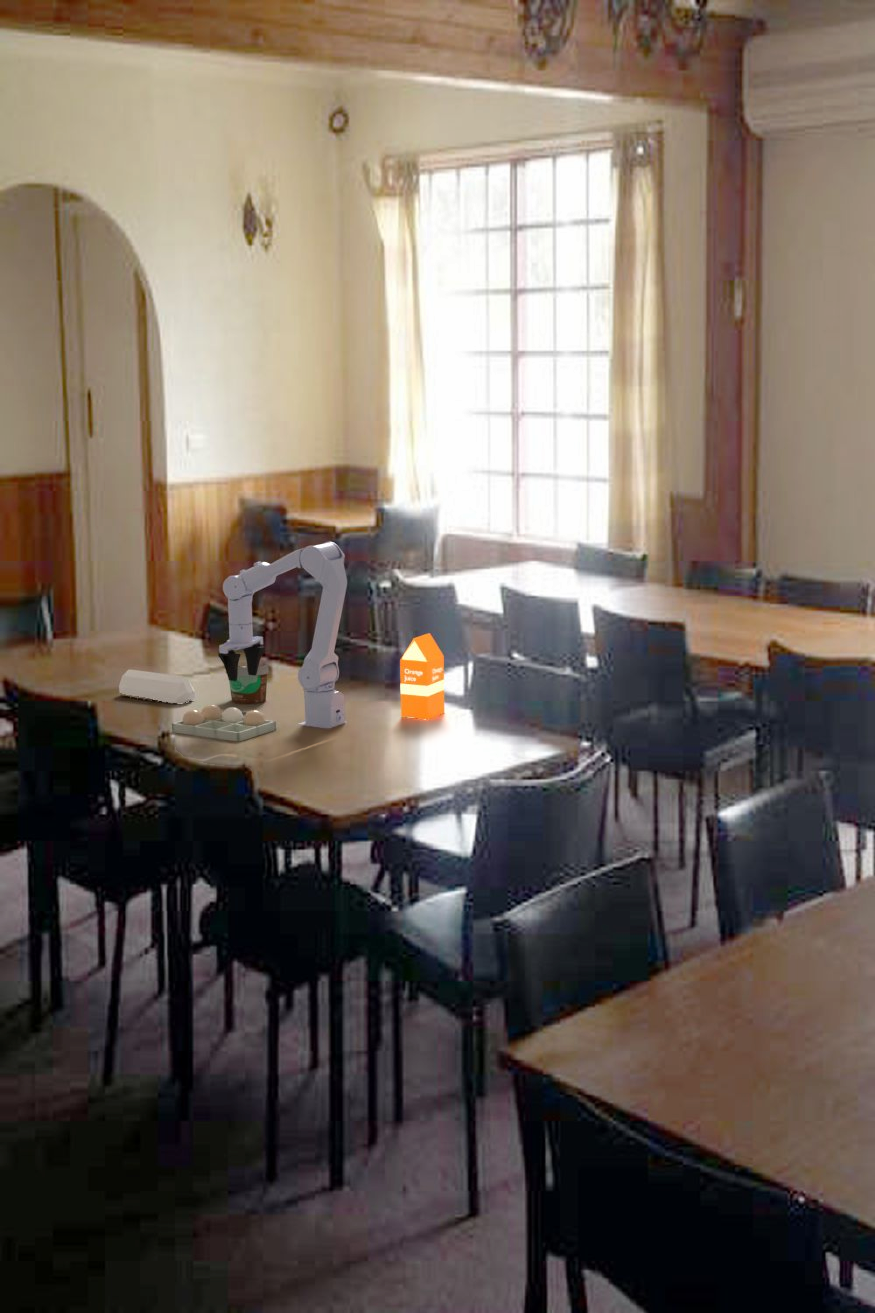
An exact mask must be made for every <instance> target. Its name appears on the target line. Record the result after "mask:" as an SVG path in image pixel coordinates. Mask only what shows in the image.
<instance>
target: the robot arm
mask: <svg viewBox="0 0 875 1313" xmlns="http://www.w3.org/2000/svg"><path fill="white" fill-rule="evenodd" d="M345 557H346V555H345V553H344V552H343V550H342V549H341V548H340V546H339V545H338V544H336V543H335V542H332V541H326V542H324V543H321V544H316V545H315V544H314V545H308V546H305V547H302V548H299V549H296V550H294V551H292V552H290V553H288V554H285V556H282V557H281V558H279V559H278V560H275V561H273V562H272V563H268V562H266V561H257V562H254V563H253V566H252V567H250V568H248V569H241V570H240V571H239V574H236V575H229V576H228V577H226V578H225V580H224V581H223V584H222V592H223V593H224V595H225V597H226V598H227V609H228V628H229V629H228V630H229V632H228V634H229V639H227V640H226V642H225V643H223V644H219V645H218V647H219V648H218V650H219V652H218V654H217V655H218V658H219V659H220V660H221V662H222V664H223V666H224V668H225V673H226V672H227V673H226V675H227V679H228V681H229V680H230V681H237V676H238V666H239V661H240V658H241V655H242V654H240V653H236V652H235V651H238V650H242V649H243V653H244V656H245V660H246V666H247V670H248V674H249V675H254V676H255V675H257V670H258V667H260V661H261V658H262V656H263V654H264V653H265V648H266V647H265V646H264V637H263V636H253V635H254V632H253V629H254V628H253V606H252V602H253V595H255V593H256V592H258V591H260V590H262V589H264V588H266V587H268V586H271V585H273V584H274V583H275V582H276V580H277V579H276V578H277V576H279V575H281V574H284V573H287V572H289V571H290V570H292V569H295V568H298V569H304V571H306V572H307V573H308V574H309V575H311V576H312V577H313V578H314V579H315V580H316V581H318V582H319V583H320V585H321V586H322V591H321V597H320V603H319V607H318V612H317V618H316V622H315V623H316V624H315V629H314V634H313V638H312V645H311V649H310V651H309V652H308V653H307V655H306V656H305V657H304V660H303V664H302V666H301V667H300V668H299V670H298V673H297V679H298V682H299V683H298V684H300V686H301V688H303V692H304V694H303V695H304V721H302V722H300V723H299V722H298V725H301V726H307V727H314V728H315V727H316V728H321V729H331V728H334V727H337V726H338V727H339V726H340V725H343V724H347V723H348V721H346V699H345V695H344V693H342V692H341V691H339V690H336V689H335V686H336V685H335V683H336V681H338V679H339V676H340V668H339V663H338V662H339V656H338V655H337V654H336V653H335V648H336V643H337V638H338V634H339V627H340V623H341V618H342V612H343V606H344V604H345V603H344V602H345V598H346V597H345V596H346V592H347V586H348V578H347V574H346V569H345V564H344V563H345Z"/></svg>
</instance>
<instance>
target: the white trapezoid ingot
mask: <svg viewBox="0 0 875 1313" xmlns="http://www.w3.org/2000/svg"><path fill="white" fill-rule="evenodd" d="M118 691H119V694H120V693H122V694H126V695H132V696H139V697H145V698H150V699H153V700H158V701H157V702H159V701H162V702H161V703H166V702H168V704H173V703H185V702H188V701H192V700H193V699H194V700H196V692H195V690H194V687H193V685H192V684H191V681H190V679H188V678H187V677H186V676H183V675H175V674H167V673H159V672H153V671H144V670H136V669H130V668H129V669H128V670H126V671H125V673H124V674H122V675H121V678H120V682H119V685H118ZM194 700H193V701H194ZM193 701H192V702H193ZM188 703H189V702H188ZM185 704H186V703H185Z"/></svg>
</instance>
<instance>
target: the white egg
mask: <svg viewBox="0 0 875 1313" xmlns="http://www.w3.org/2000/svg"><path fill="white" fill-rule="evenodd" d="M241 711H242V710H241V709H239V708H238V707H234V706H232V707H227V708H225V709H224V711H223V712H222V721H223V722H227V723H238V722H241V721H243V717H244V715H243V714H242V712H243V711H242V712H241Z"/></svg>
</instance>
